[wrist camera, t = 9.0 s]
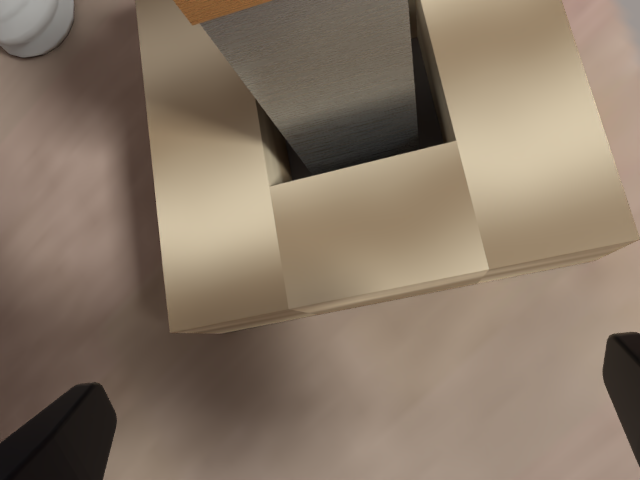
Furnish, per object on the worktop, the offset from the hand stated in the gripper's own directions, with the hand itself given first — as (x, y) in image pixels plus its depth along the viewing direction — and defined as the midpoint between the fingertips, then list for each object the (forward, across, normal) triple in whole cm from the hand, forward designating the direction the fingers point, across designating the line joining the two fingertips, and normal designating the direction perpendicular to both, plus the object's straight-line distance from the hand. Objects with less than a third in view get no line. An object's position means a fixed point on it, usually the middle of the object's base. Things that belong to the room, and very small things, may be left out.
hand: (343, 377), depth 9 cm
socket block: (+13, -1, 0) cm, 13 cm away
